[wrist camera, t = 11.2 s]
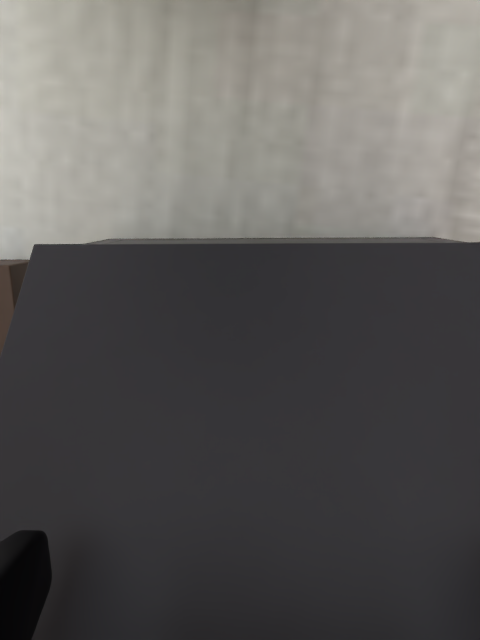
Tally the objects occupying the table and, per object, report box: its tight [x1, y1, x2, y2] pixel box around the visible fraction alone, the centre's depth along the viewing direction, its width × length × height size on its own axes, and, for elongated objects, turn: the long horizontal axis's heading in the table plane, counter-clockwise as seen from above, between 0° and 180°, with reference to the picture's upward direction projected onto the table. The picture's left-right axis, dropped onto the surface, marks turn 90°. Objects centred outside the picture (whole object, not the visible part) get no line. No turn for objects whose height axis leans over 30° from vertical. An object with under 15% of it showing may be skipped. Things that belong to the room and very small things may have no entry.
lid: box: [0, 242, 480, 640], centre depth 7 cm, size 11×13×4 cm
